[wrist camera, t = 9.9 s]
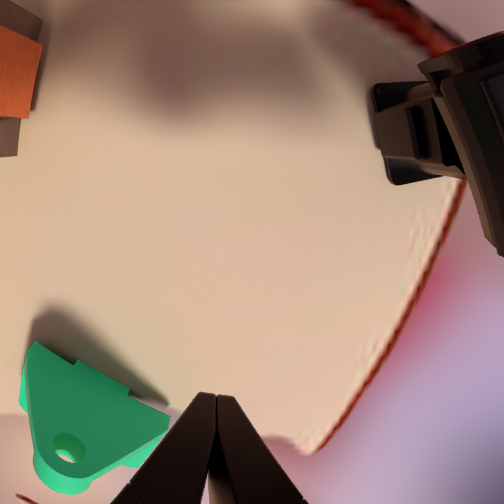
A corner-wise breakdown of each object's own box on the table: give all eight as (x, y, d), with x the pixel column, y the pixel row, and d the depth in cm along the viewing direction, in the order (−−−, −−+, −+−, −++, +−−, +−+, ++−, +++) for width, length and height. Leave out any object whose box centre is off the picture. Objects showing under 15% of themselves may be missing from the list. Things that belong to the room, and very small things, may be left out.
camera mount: (29, 389, 22) (-19, 464, 13) (41, 334, 21) (-27, 416, 11) (141, 450, 25) (121, 538, 15) (172, 406, 23) (153, 513, 13)
